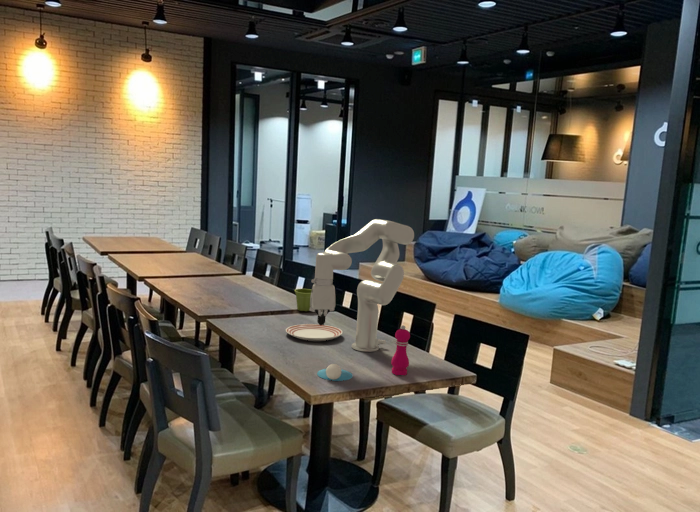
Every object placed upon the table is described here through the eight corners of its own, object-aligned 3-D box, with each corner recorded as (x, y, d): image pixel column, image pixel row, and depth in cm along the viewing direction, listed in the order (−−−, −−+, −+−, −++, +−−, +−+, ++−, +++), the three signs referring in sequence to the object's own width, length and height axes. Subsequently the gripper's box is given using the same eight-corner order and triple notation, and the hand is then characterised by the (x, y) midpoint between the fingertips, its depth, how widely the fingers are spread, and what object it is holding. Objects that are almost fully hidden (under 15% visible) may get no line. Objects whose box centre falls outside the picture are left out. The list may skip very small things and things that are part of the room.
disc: (345, 368, 247) (345, 367, 247) (357, 379, 234) (357, 379, 234) (312, 369, 242) (312, 369, 242) (323, 381, 229) (323, 381, 229)
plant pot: (290, 310, 340) (291, 291, 339) (297, 306, 352) (299, 287, 350) (309, 313, 337) (311, 293, 336) (317, 309, 348) (318, 290, 347)
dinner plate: (274, 337, 286) (274, 330, 286) (304, 326, 310) (305, 319, 310) (324, 348, 274) (324, 341, 273) (352, 336, 298) (352, 329, 297)
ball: (343, 370, 229) (341, 383, 232) (341, 360, 234) (339, 373, 237) (328, 370, 228) (325, 382, 230) (326, 360, 233) (324, 372, 236)
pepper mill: (406, 370, 249) (411, 323, 247) (409, 376, 242) (413, 328, 240) (389, 369, 249) (393, 322, 246) (391, 375, 242) (395, 327, 239)
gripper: (309, 284, 248) (306, 327, 251) (343, 283, 253) (340, 326, 256) (304, 280, 255) (301, 322, 257) (337, 280, 260) (334, 321, 263)
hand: (321, 324), depth 257 cm, fingers closed
